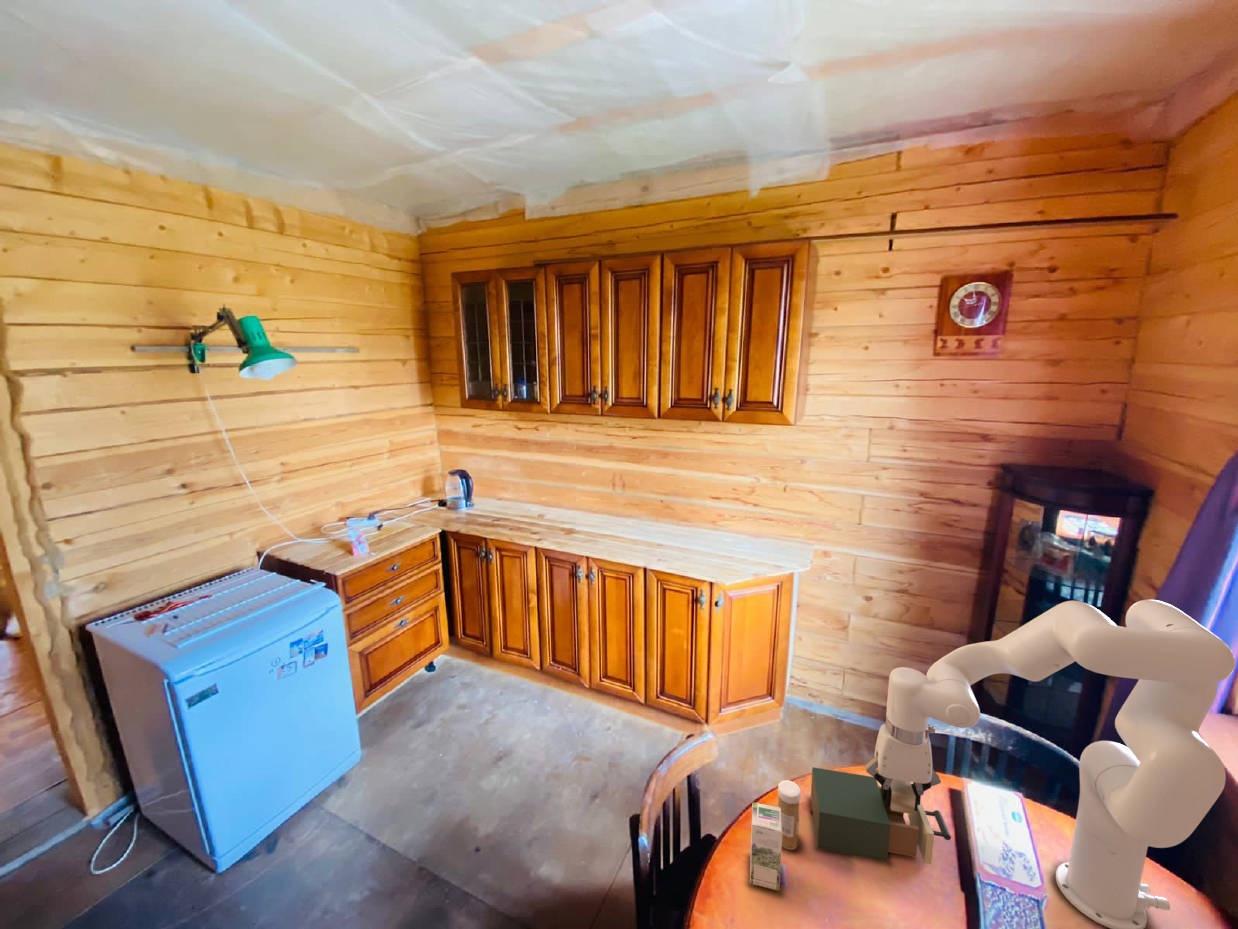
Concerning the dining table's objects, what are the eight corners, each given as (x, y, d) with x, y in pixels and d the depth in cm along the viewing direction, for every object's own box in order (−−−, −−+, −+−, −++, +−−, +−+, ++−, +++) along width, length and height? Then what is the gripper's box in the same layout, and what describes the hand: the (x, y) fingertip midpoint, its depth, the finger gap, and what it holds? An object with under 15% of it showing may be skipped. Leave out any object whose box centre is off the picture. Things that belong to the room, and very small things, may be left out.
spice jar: (802, 843, 108) (805, 789, 106) (788, 855, 106) (791, 800, 104) (785, 828, 112) (787, 775, 110) (771, 838, 110) (773, 785, 107)
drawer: (934, 821, 112) (937, 792, 111) (954, 869, 101) (957, 838, 100) (853, 806, 116) (855, 779, 115) (864, 851, 105) (866, 822, 104)
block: (907, 797, 109) (909, 780, 108) (914, 814, 105) (915, 796, 104) (885, 794, 110) (887, 776, 109) (891, 810, 106) (892, 792, 105)
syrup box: (778, 865, 104) (781, 805, 101) (779, 893, 98) (782, 830, 96) (750, 859, 105) (752, 799, 103) (749, 886, 100) (751, 824, 97)
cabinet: (872, 811, 116) (875, 777, 114) (887, 862, 104) (890, 824, 102) (810, 800, 119) (812, 767, 118) (817, 848, 107) (819, 812, 106)
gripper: (944, 722, 106) (937, 796, 109) (858, 710, 110) (853, 783, 113) (959, 747, 99) (950, 826, 102) (865, 734, 103) (860, 811, 106)
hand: (899, 802), depth 107 cm, fingers closed on block, 4 cm apart
